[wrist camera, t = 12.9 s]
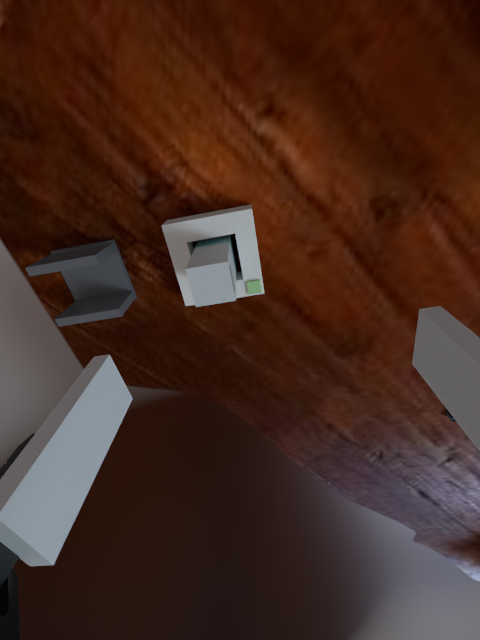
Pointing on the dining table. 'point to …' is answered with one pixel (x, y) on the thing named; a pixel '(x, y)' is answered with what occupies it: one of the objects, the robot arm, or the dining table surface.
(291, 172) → the dining table surface
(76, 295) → the holster
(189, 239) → the frame
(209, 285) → the plug
